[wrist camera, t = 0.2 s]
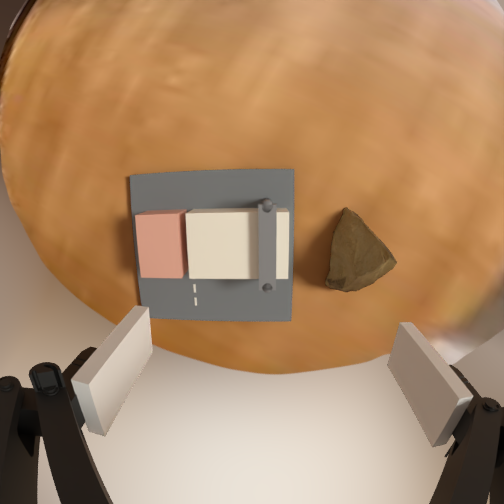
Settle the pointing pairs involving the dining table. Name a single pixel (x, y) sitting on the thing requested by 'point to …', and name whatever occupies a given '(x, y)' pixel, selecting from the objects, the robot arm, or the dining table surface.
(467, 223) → the dining table surface
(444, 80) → the dining table surface
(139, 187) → the mat
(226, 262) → the clamped cream block
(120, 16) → the dining table surface
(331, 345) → the dining table surface
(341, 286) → the rock
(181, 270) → the stub
